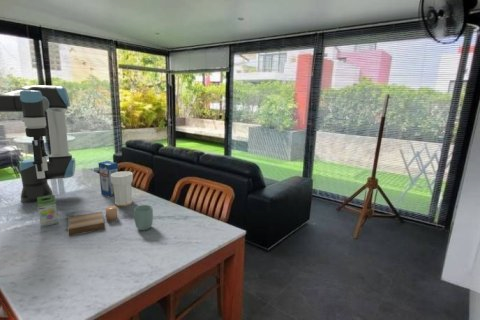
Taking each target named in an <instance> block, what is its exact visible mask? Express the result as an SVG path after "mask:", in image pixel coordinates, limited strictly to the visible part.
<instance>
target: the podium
mask: <svg viewBox="0 0 480 320" xmlns="http://www.w3.org/2000/svg"><path fill="white" fill-rule="evenodd" d="M105 229H106V228H105V220H104V214H103V211H102V210H101V211H95V212H91V213H83V214H79V215H74V216H73V215H72V216H68V227H67V231H68V236H74V235H79V234H80V235H81V234H84V233H90V232H95V231H99V230H105Z"/></svg>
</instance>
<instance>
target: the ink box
mask: <svg viewBox="0 0 480 320" xmlns="http://www.w3.org/2000/svg"><path fill="white" fill-rule="evenodd" d="M44 198H48V199H45V200H42V199H44ZM36 202H37V211H38V216H39V222H40V228H44V227H48V226H51V225H57V224H58V225H59V215H58V207H57V202H56V198H55V194H53V195H50V196H43V197H37V201H36Z"/></svg>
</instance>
